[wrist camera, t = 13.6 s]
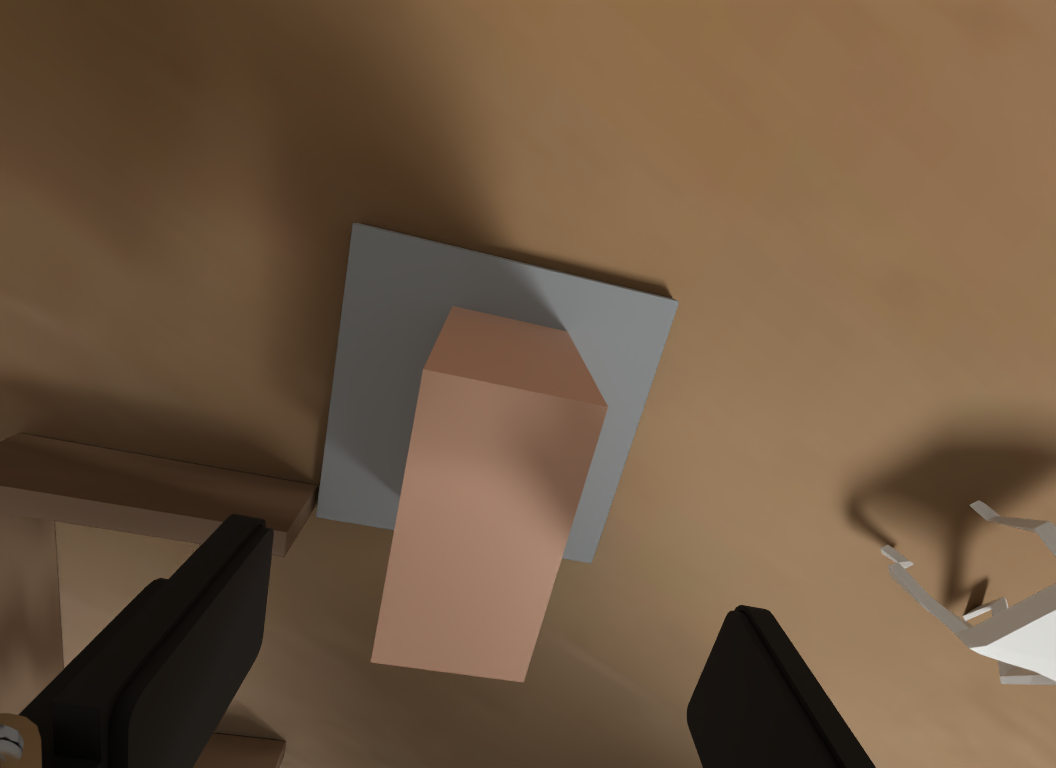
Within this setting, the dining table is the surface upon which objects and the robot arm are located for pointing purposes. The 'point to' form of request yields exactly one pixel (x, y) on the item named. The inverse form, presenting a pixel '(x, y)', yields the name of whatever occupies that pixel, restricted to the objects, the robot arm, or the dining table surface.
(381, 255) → the grey mat
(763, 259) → the dining table surface
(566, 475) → the terracotta block
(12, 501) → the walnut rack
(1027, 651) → the white legged piece
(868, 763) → the robot arm
